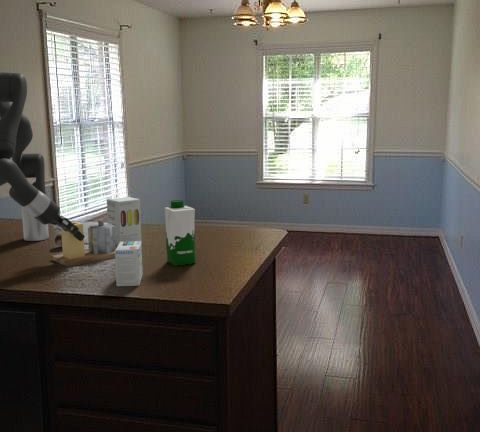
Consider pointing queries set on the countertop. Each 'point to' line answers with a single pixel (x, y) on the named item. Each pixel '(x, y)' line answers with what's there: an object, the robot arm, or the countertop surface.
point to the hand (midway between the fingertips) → (76, 236)
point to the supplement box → (125, 218)
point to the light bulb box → (128, 263)
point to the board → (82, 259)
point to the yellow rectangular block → (73, 243)
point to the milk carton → (180, 233)
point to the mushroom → (58, 240)
